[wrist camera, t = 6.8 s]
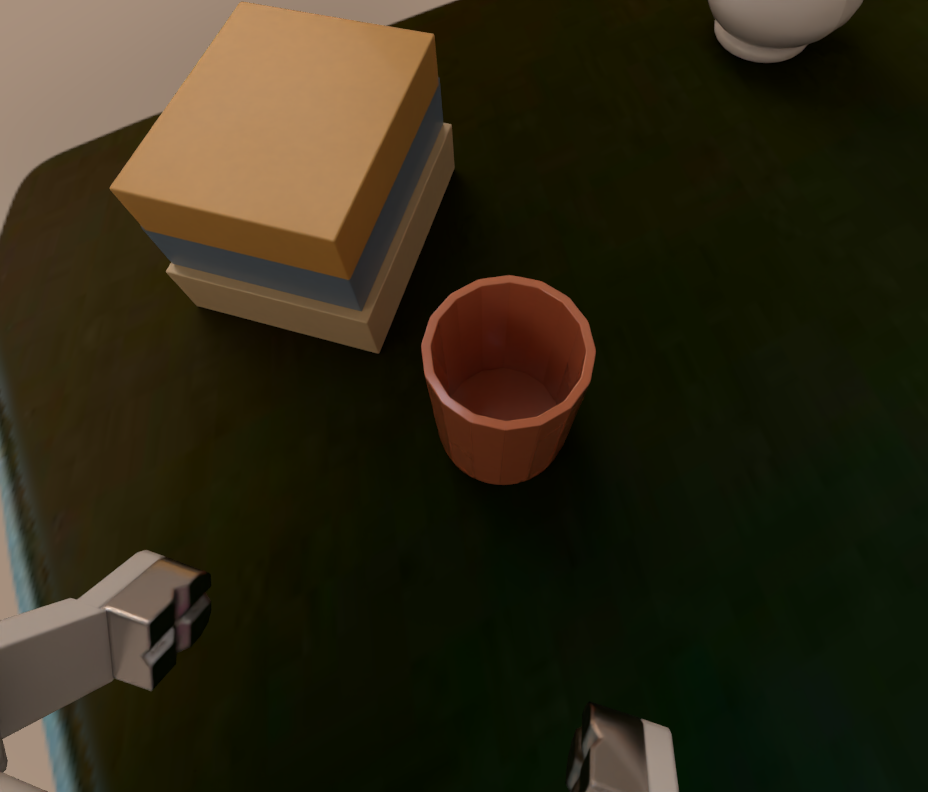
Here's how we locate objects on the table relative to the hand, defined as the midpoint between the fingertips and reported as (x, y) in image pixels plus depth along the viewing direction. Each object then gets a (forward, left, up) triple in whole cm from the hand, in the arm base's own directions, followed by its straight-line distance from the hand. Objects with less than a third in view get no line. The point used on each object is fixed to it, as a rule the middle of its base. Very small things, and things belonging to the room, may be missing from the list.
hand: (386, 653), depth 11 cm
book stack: (-5, -22, -13) cm, 26 cm away
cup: (-7, -7, -13) cm, 16 cm away
